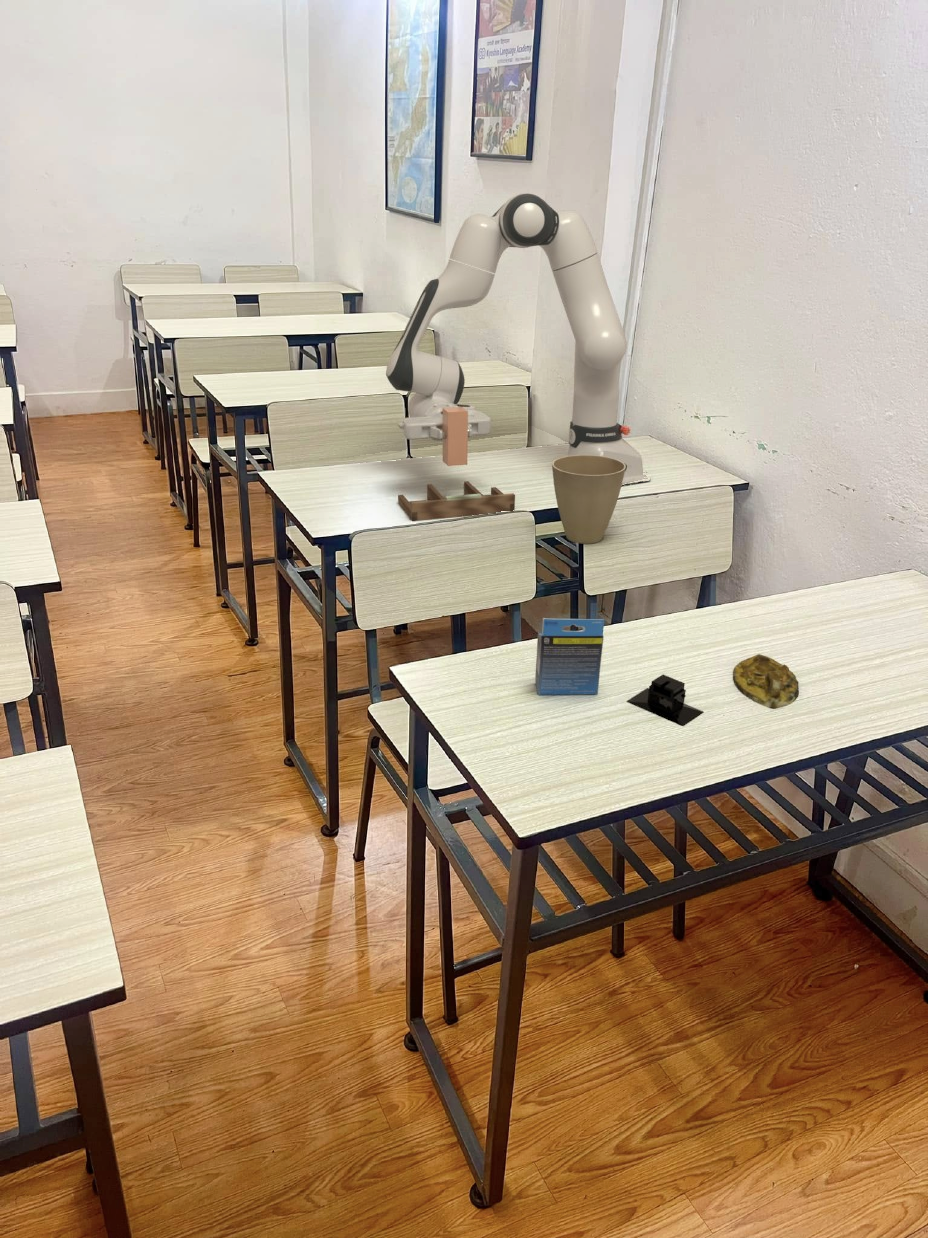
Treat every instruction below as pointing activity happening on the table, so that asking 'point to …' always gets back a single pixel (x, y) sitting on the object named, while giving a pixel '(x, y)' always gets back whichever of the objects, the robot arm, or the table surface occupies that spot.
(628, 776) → the table surface
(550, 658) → the label tape box
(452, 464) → the terracotta block
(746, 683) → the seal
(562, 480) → the plant pot
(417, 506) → the box
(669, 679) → the black stand
